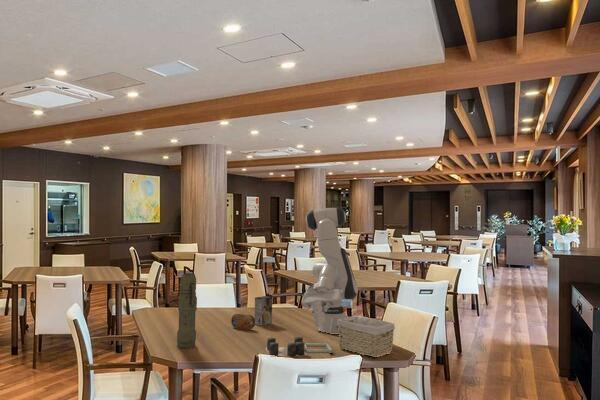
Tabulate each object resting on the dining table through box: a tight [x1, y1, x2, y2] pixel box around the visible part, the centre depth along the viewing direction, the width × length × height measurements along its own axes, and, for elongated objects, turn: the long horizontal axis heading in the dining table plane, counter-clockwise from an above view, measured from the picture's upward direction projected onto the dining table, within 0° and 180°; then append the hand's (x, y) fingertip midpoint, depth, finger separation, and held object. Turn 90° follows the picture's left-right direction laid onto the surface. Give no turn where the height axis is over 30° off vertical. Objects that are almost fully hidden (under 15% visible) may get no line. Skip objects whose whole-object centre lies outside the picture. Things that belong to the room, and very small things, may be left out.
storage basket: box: [337, 315, 396, 356], centre depth 224 cm, size 24×16×15 cm
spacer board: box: [265, 336, 308, 357], centre depth 217 cm, size 18×16×6 cm
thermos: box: [176, 272, 198, 349], centre depth 228 cm, size 9×12×35 cm
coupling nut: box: [312, 300, 326, 328], centre depth 221 cm, size 5×4×12 cm
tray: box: [304, 342, 333, 354], centre depth 224 cm, size 12×12×2 cm
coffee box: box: [254, 295, 273, 327], centre depth 280 cm, size 9×6×16 cm
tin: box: [231, 313, 256, 331], centre depth 267 cm, size 15×3×8 cm, turn 62°
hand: (318, 311), depth 221 cm, fingers closed on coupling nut, 4 cm apart
